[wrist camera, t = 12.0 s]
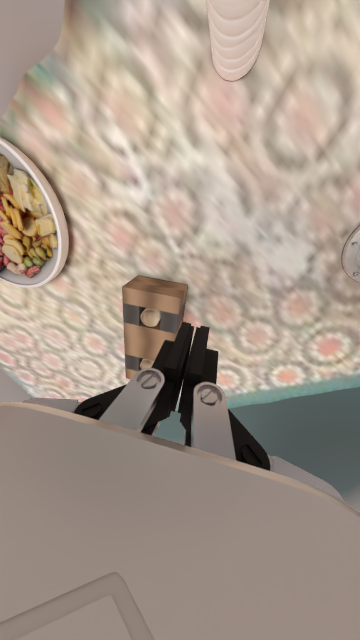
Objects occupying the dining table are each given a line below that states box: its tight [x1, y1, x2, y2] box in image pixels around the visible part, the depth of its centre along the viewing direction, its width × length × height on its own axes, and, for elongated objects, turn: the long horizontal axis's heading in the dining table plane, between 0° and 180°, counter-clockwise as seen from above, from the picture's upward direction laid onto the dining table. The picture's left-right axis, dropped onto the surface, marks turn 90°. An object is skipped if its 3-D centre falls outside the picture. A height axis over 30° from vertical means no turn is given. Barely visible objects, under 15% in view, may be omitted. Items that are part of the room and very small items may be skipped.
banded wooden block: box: [122, 276, 188, 379], centre depth 48 cm, size 12×26×8 cm, turn 173°
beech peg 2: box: [140, 359, 154, 369], centre depth 51 cm, size 4×4×8 cm
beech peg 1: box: [141, 308, 161, 327], centre depth 44 cm, size 4×4×8 cm
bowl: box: [0, 137, 69, 288], centre depth 42 cm, size 30×30×8 cm
